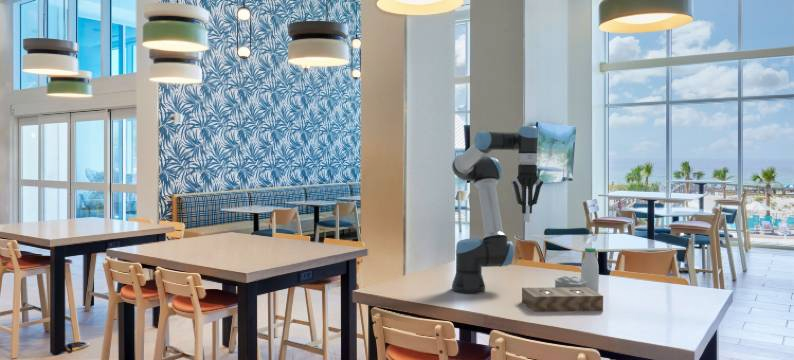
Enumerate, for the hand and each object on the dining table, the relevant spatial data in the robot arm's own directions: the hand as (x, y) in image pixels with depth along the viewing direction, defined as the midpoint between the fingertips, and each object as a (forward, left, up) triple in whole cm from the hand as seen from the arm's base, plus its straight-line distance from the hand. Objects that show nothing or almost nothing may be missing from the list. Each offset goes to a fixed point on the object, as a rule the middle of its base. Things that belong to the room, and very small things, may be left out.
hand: (526, 221), depth 235 cm
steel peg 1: (+8, -3, -35) cm, 35 cm away
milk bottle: (+37, +23, -35) cm, 56 cm away
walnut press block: (+14, -3, -34) cm, 37 cm away
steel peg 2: (+21, -3, -35) cm, 40 cm away
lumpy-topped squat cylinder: (+24, +13, -35) cm, 44 cm away
